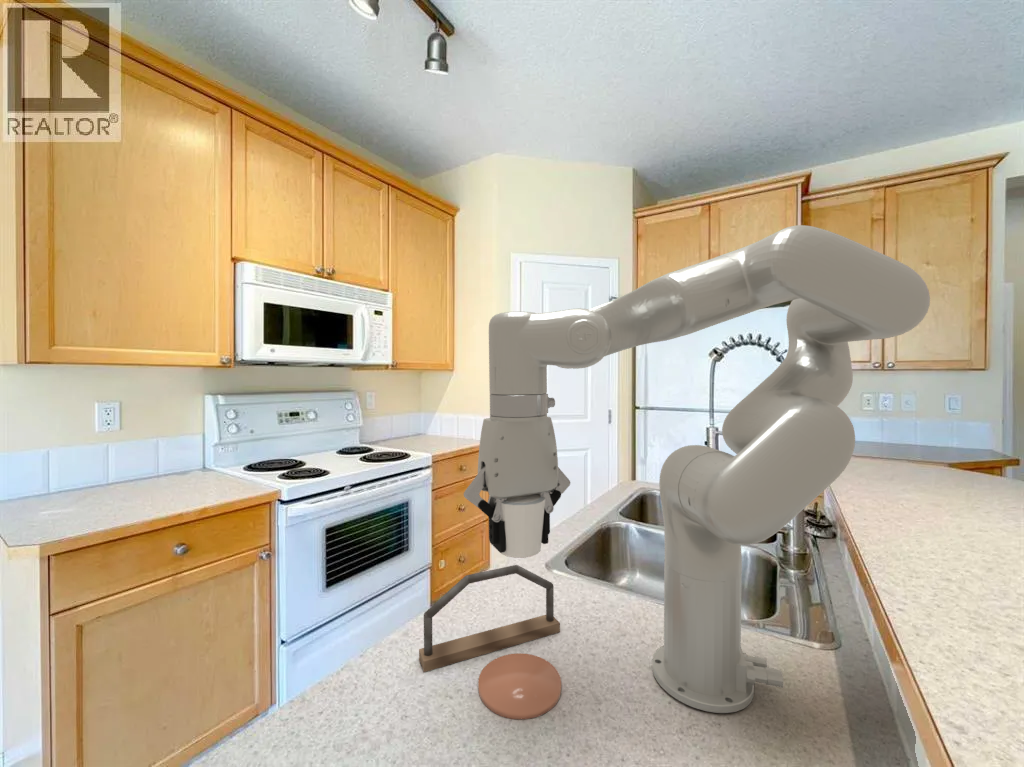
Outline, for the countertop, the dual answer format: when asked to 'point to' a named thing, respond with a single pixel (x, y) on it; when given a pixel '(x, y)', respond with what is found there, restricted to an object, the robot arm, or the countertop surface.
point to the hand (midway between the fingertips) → (520, 543)
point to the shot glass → (523, 525)
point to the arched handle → (492, 638)
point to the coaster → (519, 686)
